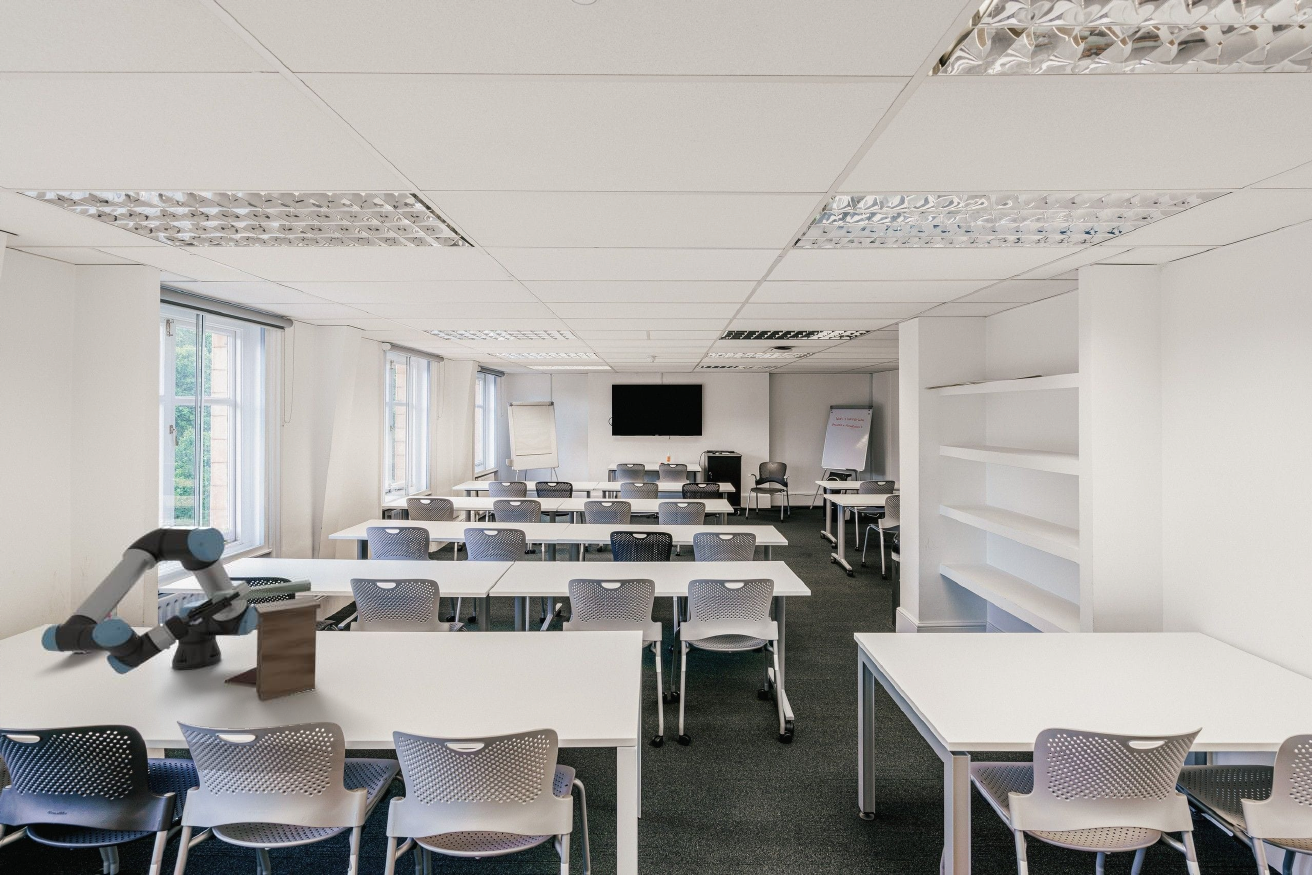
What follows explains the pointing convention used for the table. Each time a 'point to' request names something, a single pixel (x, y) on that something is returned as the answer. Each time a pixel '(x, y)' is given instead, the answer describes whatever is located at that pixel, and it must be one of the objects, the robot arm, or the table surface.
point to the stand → (286, 647)
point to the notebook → (244, 678)
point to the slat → (266, 590)
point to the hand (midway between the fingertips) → (248, 585)
